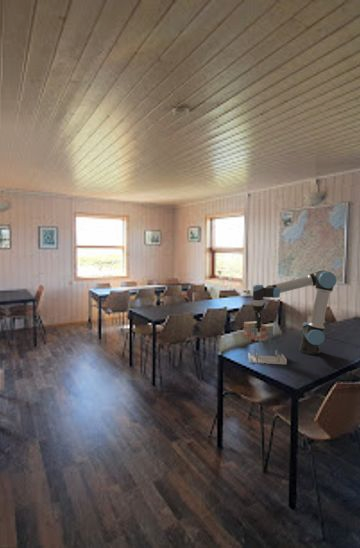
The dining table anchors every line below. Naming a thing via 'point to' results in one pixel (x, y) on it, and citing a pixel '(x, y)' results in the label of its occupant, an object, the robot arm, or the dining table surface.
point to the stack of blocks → (251, 330)
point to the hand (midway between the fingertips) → (257, 334)
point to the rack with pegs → (267, 358)
